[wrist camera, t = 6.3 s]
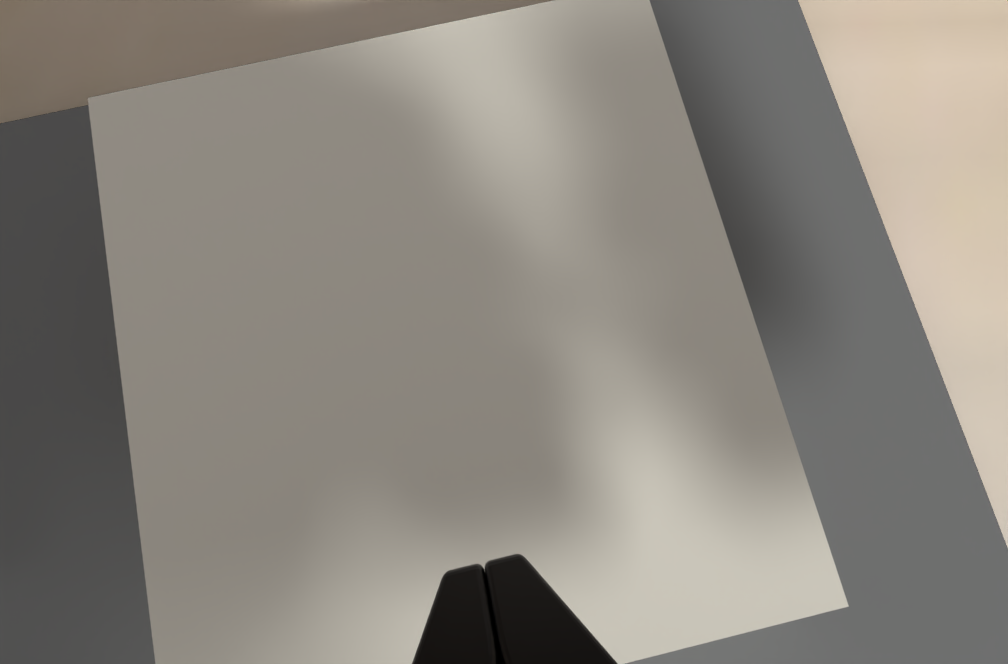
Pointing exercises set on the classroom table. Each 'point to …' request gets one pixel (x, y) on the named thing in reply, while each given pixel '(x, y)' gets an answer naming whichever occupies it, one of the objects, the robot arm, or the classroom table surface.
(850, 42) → the classroom table surface
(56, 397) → the felt mat
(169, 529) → the picture tile
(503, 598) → the robot arm
